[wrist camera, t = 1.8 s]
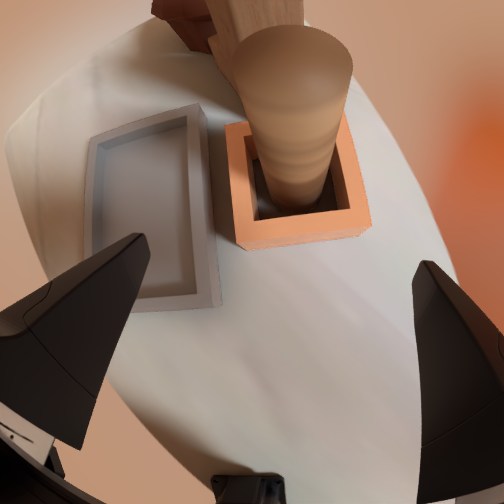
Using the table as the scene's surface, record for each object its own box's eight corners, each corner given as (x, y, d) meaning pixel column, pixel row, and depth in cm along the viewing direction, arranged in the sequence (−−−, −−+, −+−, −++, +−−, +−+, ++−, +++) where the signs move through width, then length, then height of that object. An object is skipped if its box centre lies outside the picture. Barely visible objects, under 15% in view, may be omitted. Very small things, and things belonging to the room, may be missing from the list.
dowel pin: (325, 211, 21) (368, 98, 7) (272, 218, 21) (236, 112, 8) (316, 162, 21) (333, 22, 8) (266, 169, 22) (227, 33, 8)
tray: (222, 304, 21) (213, 307, 19) (104, 312, 23) (87, 314, 20) (206, 118, 23) (198, 103, 21) (104, 148, 25) (90, 138, 22)
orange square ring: (358, 236, 20) (372, 225, 16) (246, 250, 21) (236, 243, 17) (337, 136, 21) (343, 109, 17) (235, 149, 22) (224, 125, 19)
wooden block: (217, 67, 24) (153, -81, 6) (257, 50, 24) (219, -101, 6) (259, 127, 22) (202, -74, 5) (305, 106, 22) (300, -91, 4)
